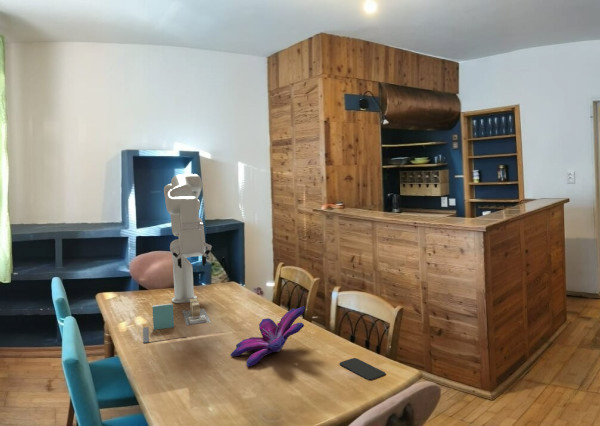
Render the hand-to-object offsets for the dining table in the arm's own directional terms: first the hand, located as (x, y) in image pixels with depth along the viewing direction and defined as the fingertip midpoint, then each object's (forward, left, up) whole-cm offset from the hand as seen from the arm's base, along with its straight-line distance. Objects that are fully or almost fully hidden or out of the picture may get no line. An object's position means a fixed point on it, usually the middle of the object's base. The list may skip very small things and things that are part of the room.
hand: (192, 266), depth 191 cm
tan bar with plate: (-6, +1, -24) cm, 24 cm away
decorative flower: (+45, +21, -25) cm, 55 cm away
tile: (+4, -13, -19) cm, 23 cm away
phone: (+70, +44, -25) cm, 86 cm away
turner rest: (-6, +1, -25) cm, 25 cm away
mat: (+8, -13, -25) cm, 29 cm away
